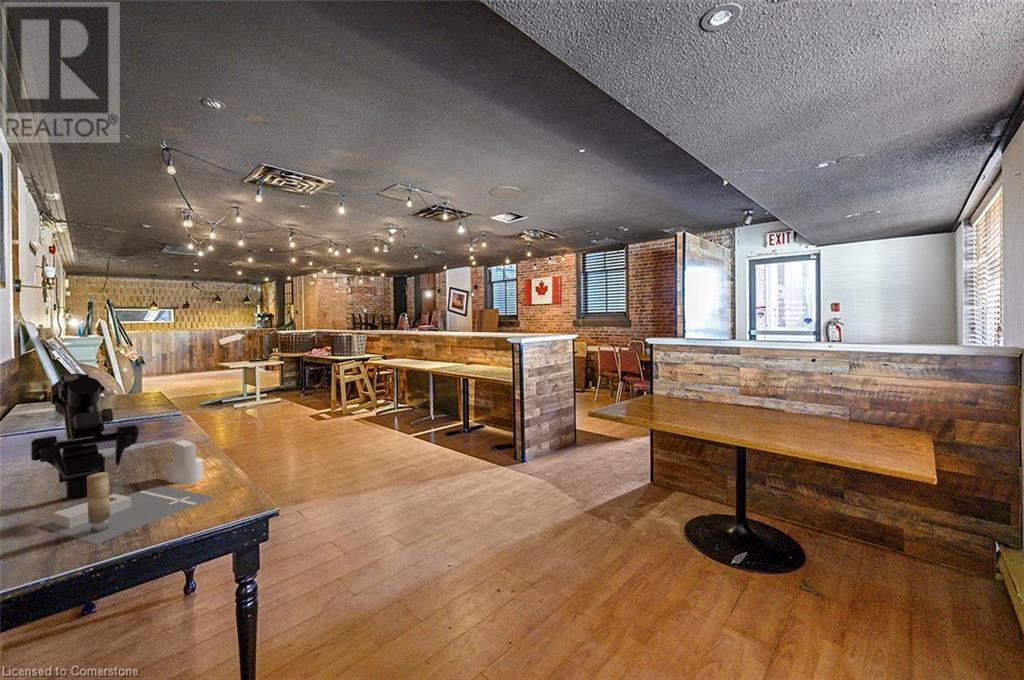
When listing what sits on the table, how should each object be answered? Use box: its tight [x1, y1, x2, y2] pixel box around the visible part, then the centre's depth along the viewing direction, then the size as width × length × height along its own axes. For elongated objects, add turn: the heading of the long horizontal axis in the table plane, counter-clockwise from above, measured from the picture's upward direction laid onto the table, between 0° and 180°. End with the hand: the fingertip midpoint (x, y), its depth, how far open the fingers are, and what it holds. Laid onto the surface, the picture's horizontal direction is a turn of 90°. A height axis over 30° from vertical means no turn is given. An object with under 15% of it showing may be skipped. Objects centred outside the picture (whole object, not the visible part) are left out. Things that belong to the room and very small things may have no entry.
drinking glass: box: [165, 439, 204, 486], centre depth 130 cm, size 9×9×12 cm
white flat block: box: [52, 493, 131, 528], centre depth 104 cm, size 7×12×3 cm, turn 160°
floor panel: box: [36, 484, 216, 545], centre depth 107 cm, size 24×26×1 cm
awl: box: [87, 471, 110, 533], centre depth 97 cm, size 4×4×13 cm
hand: (92, 469), depth 101 cm, fingers open, 9 cm apart
